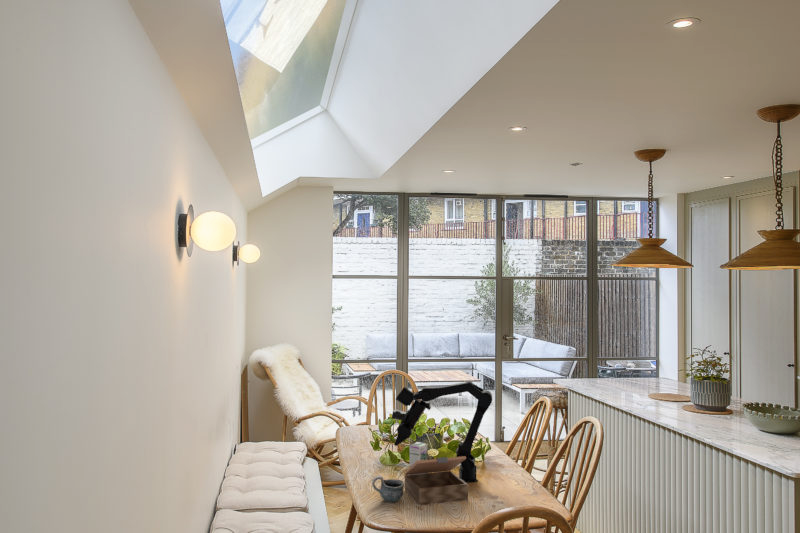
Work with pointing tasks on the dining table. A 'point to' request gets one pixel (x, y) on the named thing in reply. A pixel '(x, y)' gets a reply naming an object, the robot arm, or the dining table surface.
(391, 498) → the mug
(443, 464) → the lid
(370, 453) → the dining table surface
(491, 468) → the dining table surface
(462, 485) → the crate
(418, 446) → the syrup box
